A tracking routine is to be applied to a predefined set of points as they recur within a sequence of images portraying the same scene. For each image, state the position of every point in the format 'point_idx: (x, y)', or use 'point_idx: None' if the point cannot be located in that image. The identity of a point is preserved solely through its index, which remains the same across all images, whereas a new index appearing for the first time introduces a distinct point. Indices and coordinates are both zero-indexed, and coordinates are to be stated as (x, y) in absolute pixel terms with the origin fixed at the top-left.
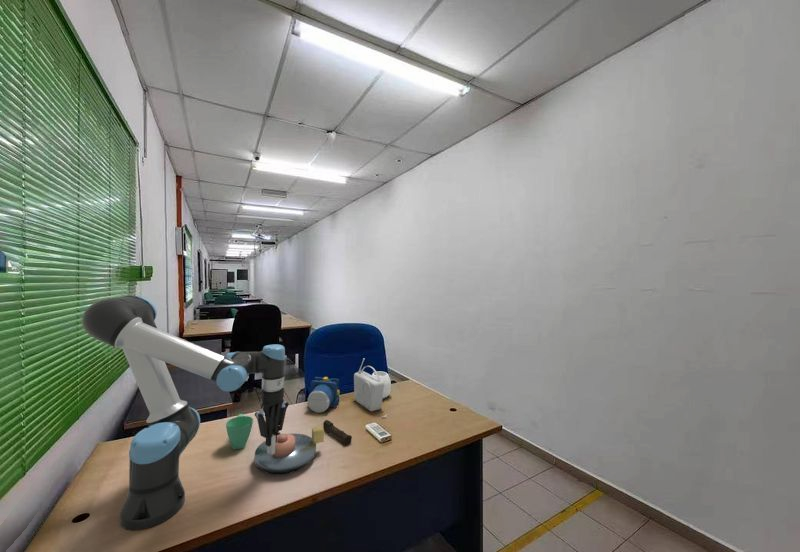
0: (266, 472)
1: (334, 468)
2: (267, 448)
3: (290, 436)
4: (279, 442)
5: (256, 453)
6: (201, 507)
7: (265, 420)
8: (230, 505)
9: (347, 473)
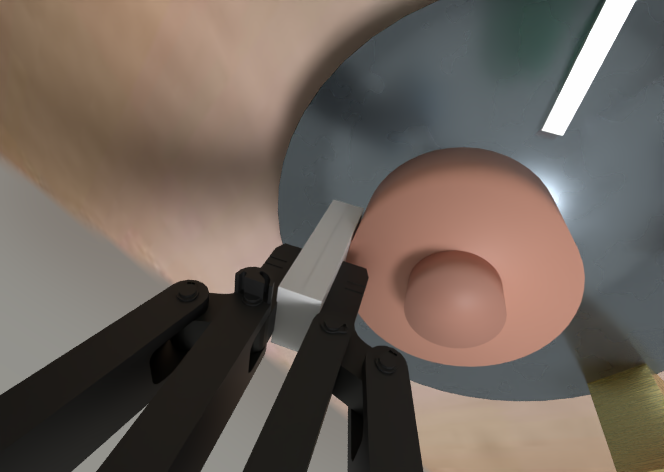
0: None
1: (469, 422)
2: (322, 220)
3: (533, 321)
4: (406, 283)
5: (351, 74)
6: (41, 63)
7: (109, 456)
8: (122, 171)
9: (450, 457)
